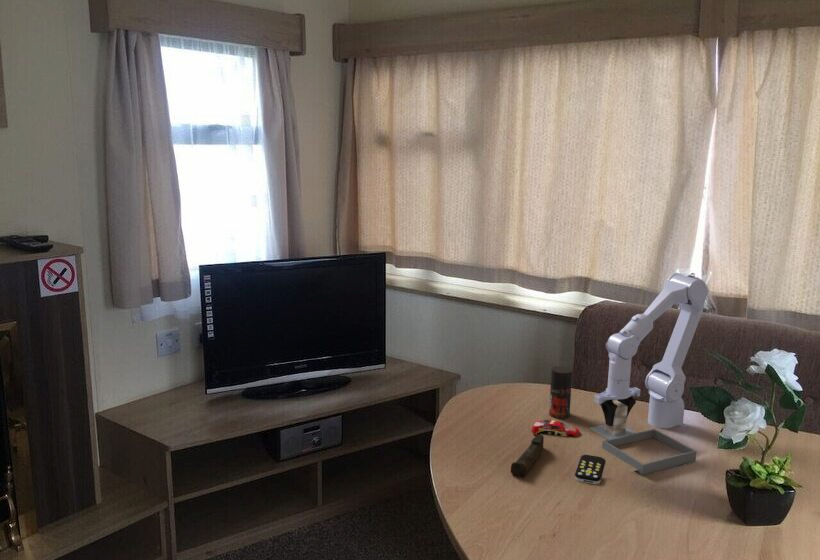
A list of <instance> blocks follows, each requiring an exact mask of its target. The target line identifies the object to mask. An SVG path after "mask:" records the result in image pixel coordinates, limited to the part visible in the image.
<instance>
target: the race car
mask: <svg viewBox="0 0 820 560" xmlns="http://www.w3.org/2000/svg"><path fill="white" fill-rule="evenodd" d="M531 433H532V434H533V435H535V436H537V435H551V436H561V437H571V438H576V437H579V436H580V435H581V432H580V429H578V428H577V427H576V426H573V425H569V424H566V423H564V422H562V421H559V420H558V419H557V420H556V419H541V420H537V421H536V420H535V421H534V422H533V425H532V427H531Z"/></svg>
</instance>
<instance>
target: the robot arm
mask: <svg viewBox="0 0 820 560" xmlns="http://www.w3.org/2000/svg"><path fill="white" fill-rule="evenodd" d="M708 293H709V287H708V286H707V284H706V282H705V281H704V280H702V279H699V278H694V277H690V276H687V275H684V274H681V273H679V272H675V273H673V274H671V275H670V276H669V277H668V279H667V280H665V281H664V282H663V289H662V290H661V291H660V293H659V294H658V295H657V296H656V297H655V299H654V300H653V301H652V302H651V304H650V305H649V306H648V307H647V308H646V310H645V311H644V312H643V313H637V314H635V315H633V316H632V317H631V318H630V321H629V322H628V323H627V324H626V325H625V326H624V327H623V328H622V329H621V330H619V332H617V333H614V334H611V335H610V336H609V338H608V340H607V342H605V348H606V350H607V352H608V358H609V362H608V363H609V364H608V377H607V378H608V379H607V387H606V388H605V390H604V391H602V392H600V393H599V394H598V393H597V394H595V395H594V399H593V400H594V403H595V404H597V405H599V406H600V407H601V409H602V413H603V417H604V423H605V422H606V424H607V425H609V426H613V422H614V415H615V411H616V409H617V407H618V406H617V405H616V404H614V402H615V401H619V402H621V403H623V404H625V405H626V406H628V408H627V418H628V417H629V414H630V412H631V410H632V409H633V407H634V406H635V405H636V402H637V400H636V399H635V398H634V397H640V396H641V392H642V391H641V389H640V388H638V387H635V386H634V387H630V382H631V370H632V369H631V368H632V358H633V357H634V356H635V355H636V353H637V351H638V348H639V346H640V344H641V342H642V341H643V340H644V339H645V337H647V335H648V334H649V333H651V331H652V330H653V329H654V322H655V321H656V320H657V319H658V318H660V316H661V315H663V314H664V313H665V312H666V311H667V310H668V309H669V308H671V306H673V305H675V304H677V305H678V306H679V308H680V313H679V314H678V318H677V320H676V323H675V326H674V328H673V331H672V333H671V335H670V339H669V341H668V344H667V346H666V349H665V351H664V355H663V357H662V358H661V359H662V360H661V361H660V362H658V363H655V364H654V365H653V366H652V369H651V370H650V371H649V373H648V374H647V375H646V377H645V381H644V385H645V387H646V389H648V394H649V404H648V415H647V423H648V424H649V425H650V426H652V427H654V428H659V429H672V428H673V427H675V426H680V427H682V428H685V427H686V426H685V425H683V424H684V415H685V402H684V400H683V398H682V396H683V394H684V390H685V382H686V379H687V378H686V375H685V373H684V371H683V369H682V368H683V364H684V362H685V360H686V356H687V354H688V352H689V349H690V346H691V344H692V341H693V337H694V335H695V333H696V330H697V328H698V325H699V322H700V320H701V318H702V314H703V312H704V308H705V302H706V300H707V297H708Z"/></svg>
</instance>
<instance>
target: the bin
mask: <svg viewBox="0 0 820 560" xmlns="http://www.w3.org/2000/svg"><path fill="white" fill-rule="evenodd" d="M651 438H654V439H657V441H658V440H659V441H660V442H662V443H664V444H665V445H667V446H669V447H672V448H673V449H675V450H677V451H679V452H680V453H679V454H675V455H671V456H667V457H664V458H660V459H655V460H652V461H647V462H645V463H643V462H641V461H639V460H638V459H636V458H635V457H633V456H631V455H629V453H626V452H625V451H623V450H621V449H619V448H618V447H617V446H621V445H625V444H629V443H634V442H637V441H638V442H639V441H642V440H646V439H647V440H648V439H651ZM601 443H602V445H601V448H602V450H604V451H606V452H608V453H610V454H611V455H613V456H615V457H616V458H618V459H619V460H621V461H623V462H624V463H626V464H628V466H630V467H632V468H634V469H636V470H634V473H636V474H638V475H639V476H641V477H643V476H647V475H652V474H655V473H659V472H664V471H667V470H671V469H675V468H678V467H682V466H685V464H686V465H690V464H693V462H694V463H696V460H697V450H695V449H694V448H691V447H690V446H688V445H687V444H684V443H682V442H680V441H679V440H677V439H674V438H673V437H671V436H669V435H667V434H665V433H663V432H662V431H659V430H657V429H655V428H652V429H647V430H643V431H640V432H636V433H634V434H630V435H625V436H621V437H617V438H612V439H605V440H602V442H601ZM689 463H690V464H689ZM674 467H675V468H674Z"/></svg>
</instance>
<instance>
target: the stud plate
mask: <svg viewBox="0 0 820 560" xmlns="http://www.w3.org/2000/svg"><path fill="white" fill-rule="evenodd" d="M589 429H590V430H591V431H593V432H595V433H597V434H598V435H600V436H601V437H604V438H605V439H606V440H608V439H612V438H617V437H621V436H625V435H630V434H634V433H637V431H635V430H633V429H630V428H629V427H627V426H626V433H624V434H619V435H615V436H614V435H612V434H610V433H609V432H607V431H605V423H604V424H600V425H596V426H591V427H589Z"/></svg>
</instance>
